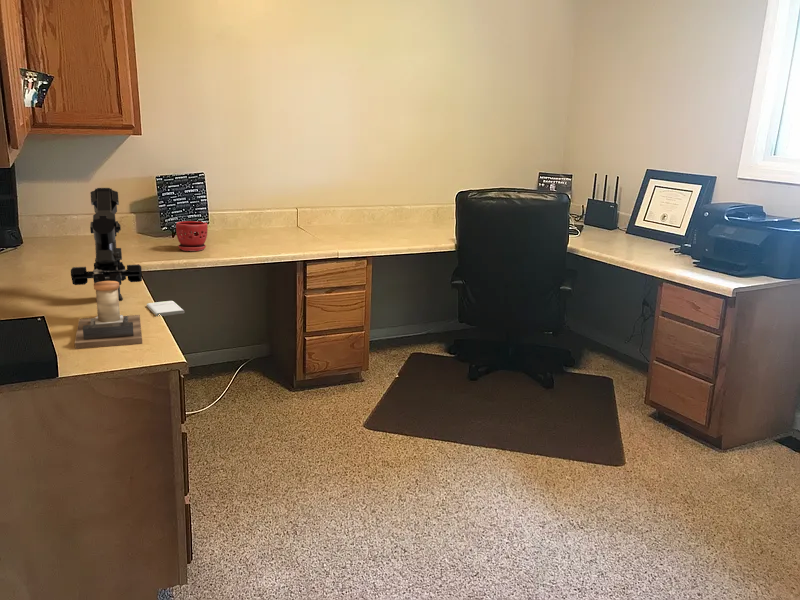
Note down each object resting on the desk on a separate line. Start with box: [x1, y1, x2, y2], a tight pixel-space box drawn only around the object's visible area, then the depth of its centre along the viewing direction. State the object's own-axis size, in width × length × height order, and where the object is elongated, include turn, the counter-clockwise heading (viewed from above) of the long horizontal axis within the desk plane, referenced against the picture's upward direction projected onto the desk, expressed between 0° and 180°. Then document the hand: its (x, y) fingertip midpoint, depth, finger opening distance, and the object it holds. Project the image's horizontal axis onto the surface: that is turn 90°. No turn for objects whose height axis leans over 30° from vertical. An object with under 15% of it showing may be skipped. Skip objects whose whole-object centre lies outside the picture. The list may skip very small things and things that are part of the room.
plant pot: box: [175, 220, 209, 252], centre depth 299 cm, size 13×13×12 cm
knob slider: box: [93, 281, 124, 325], centre depth 189 cm, size 7×7×11 cm
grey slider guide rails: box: [83, 315, 134, 340], centre depth 186 cm, size 17×12×3 cm
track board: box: [74, 314, 143, 350], centre depth 187 cm, size 22×16×2 cm
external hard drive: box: [146, 300, 185, 317], centre depth 211 cm, size 2×8×12 cm
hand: (108, 299), depth 195 cm, fingers closed
